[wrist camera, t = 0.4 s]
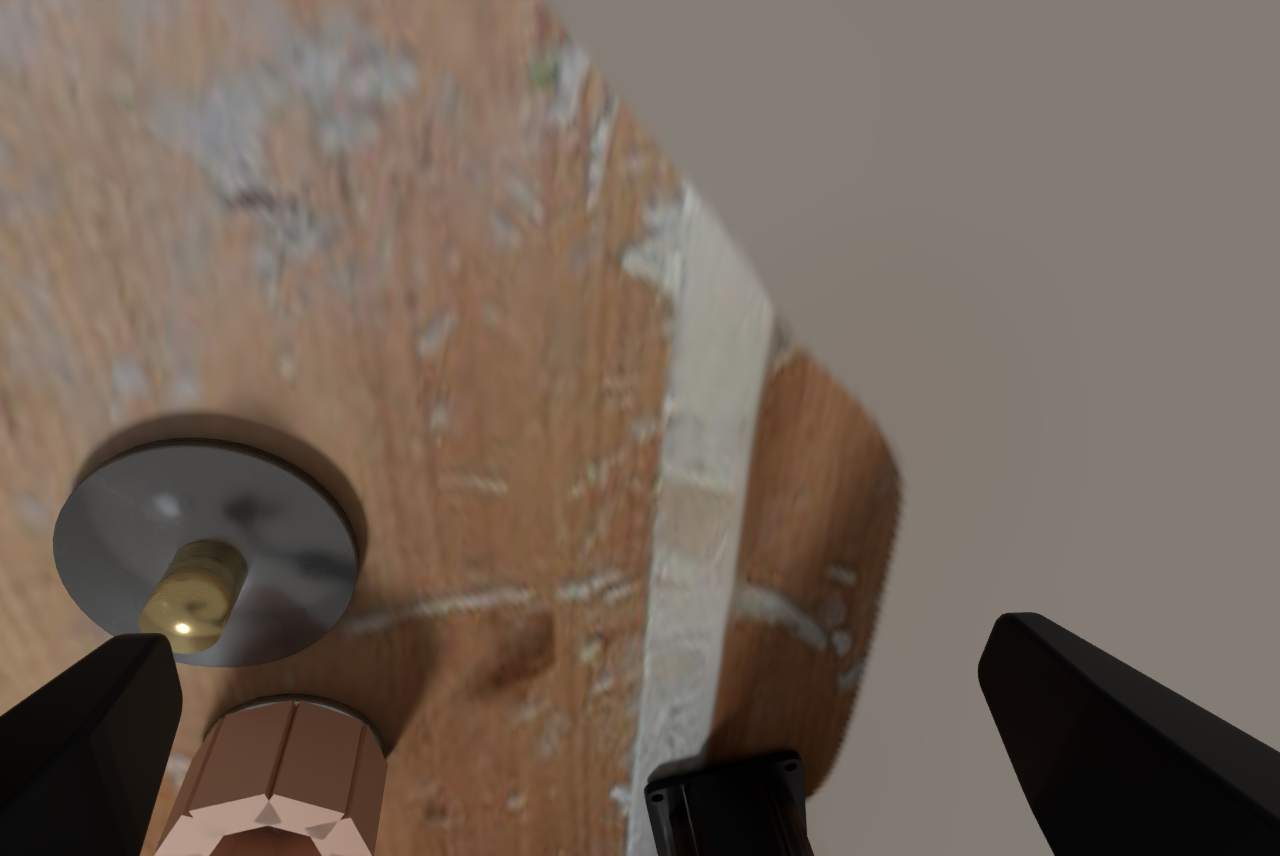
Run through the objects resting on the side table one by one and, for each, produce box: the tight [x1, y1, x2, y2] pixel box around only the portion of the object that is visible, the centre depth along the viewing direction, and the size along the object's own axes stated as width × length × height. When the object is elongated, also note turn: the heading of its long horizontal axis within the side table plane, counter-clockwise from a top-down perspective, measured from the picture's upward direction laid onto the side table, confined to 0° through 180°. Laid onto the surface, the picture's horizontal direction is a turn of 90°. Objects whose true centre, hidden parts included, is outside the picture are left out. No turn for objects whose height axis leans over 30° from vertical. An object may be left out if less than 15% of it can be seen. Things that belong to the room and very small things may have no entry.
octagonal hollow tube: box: [153, 700, 388, 856], centre depth 26 cm, size 6×6×4 cm
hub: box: [53, 438, 359, 667], centre depth 22 cm, size 8×8×3 cm
